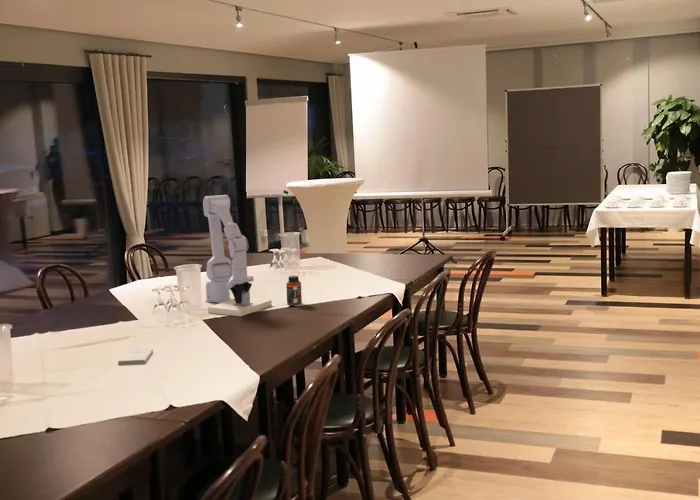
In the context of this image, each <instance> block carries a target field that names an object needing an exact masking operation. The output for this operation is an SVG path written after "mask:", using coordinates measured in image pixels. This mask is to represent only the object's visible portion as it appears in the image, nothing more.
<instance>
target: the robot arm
mask: <svg viewBox="0 0 700 500" xmlns="http://www.w3.org/2000/svg"><path fill="white" fill-rule="evenodd" d="M202 207H203V214H204V217H207V220H208V226H209V227H208V228H209V236H210V237H209V238H210V244H211V253H212V257H211V258H210V259H209V260H208V261H207V262H206V276H207V278H208V280H207V282H206V284H205V294H206V296H205V297H206V299H205V302H209V303H216V304H219V303H222V302H226V301H229V300H232V299H235V301H236V303H238V304H241V300H242V290H245V292H250V289H251V287H252V283H251V282H254V281H255V280H254V276H253V275H249V276H248V264H247V263H248V262H247V252H248V251H249V241H248V239H247V237H246V236H245V235H243V234H242V233H241V230H240V228H239V226H238V224H237V223H235V222H234V221H233V217H232V215H231V211H230V209H231V199H230V197H229V195H228V194H220V195H218V194H217V195H205V196H204V197H203V200H202ZM221 222H222V223H221ZM222 224H223V226H224V227H223V230H222ZM222 231H224V235H225V237H226V238H227V241H228V244H227V246H228V250H229V256H230V257H231V259H230V258H229V257H226V256H225V247H224V241H223V232H222ZM231 278H232V279H231ZM231 293H232V295H233V297H231Z"/></svg>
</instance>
